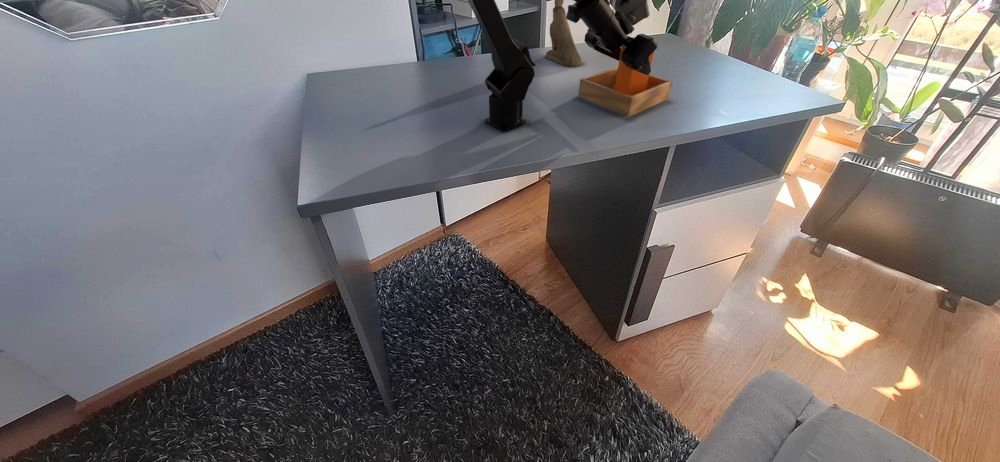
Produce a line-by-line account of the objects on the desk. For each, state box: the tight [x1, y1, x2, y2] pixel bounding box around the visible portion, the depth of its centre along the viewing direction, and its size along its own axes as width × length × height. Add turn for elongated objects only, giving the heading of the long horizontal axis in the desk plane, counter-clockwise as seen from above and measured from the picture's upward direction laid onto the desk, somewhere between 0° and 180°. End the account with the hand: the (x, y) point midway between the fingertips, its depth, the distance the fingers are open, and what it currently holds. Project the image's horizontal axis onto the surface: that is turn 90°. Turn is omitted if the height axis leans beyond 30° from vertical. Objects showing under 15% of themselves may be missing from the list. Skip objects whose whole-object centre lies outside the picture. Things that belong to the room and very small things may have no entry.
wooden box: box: [578, 66, 673, 117], centre depth 95 cm, size 15×15×5 cm
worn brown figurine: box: [545, 0, 582, 68], centre depth 116 cm, size 12×6×18 cm, turn 28°
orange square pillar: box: [614, 47, 655, 96], centre depth 93 cm, size 5×5×11 cm
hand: (636, 66), depth 93 cm, fingers open, 9 cm apart
